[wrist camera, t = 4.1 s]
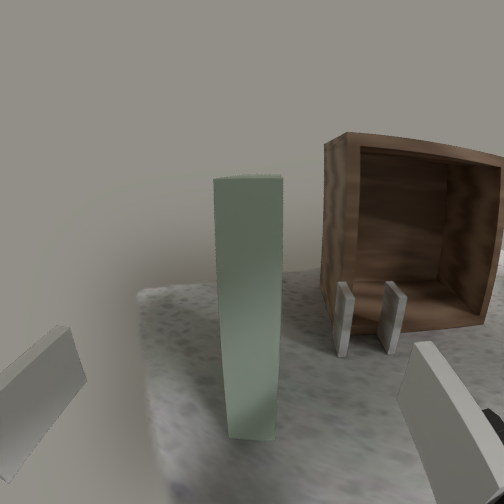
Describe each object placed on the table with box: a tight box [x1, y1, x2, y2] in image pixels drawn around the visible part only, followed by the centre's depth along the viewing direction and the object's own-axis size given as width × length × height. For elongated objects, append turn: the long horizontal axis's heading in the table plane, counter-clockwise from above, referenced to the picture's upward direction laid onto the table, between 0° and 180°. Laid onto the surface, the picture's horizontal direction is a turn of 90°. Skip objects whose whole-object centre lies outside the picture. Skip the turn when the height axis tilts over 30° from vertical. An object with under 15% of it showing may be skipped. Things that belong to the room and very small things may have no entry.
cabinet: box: [320, 132, 504, 357], centre depth 31 cm, size 18×20×20 cm
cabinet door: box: [213, 174, 283, 441], centre depth 21 cm, size 12×3×16 cm, turn 175°
